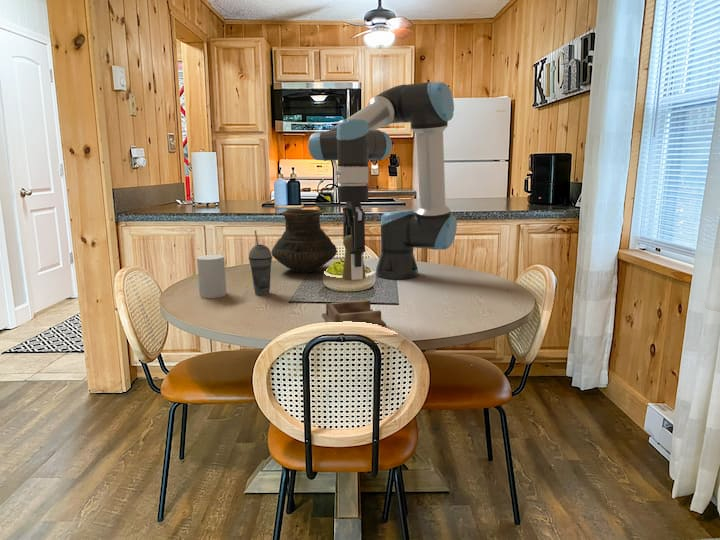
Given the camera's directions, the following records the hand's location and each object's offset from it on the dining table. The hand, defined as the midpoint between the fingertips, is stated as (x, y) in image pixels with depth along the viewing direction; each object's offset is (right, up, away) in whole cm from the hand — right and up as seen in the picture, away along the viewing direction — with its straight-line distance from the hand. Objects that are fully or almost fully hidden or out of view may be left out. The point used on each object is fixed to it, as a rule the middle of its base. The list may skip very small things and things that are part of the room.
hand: (354, 276), depth 131 cm
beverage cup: (-29, -6, +31) cm, 43 cm away
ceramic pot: (-19, +1, +63) cm, 66 cm away
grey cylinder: (-45, -6, +30) cm, 54 cm away
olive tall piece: (0, -1, 0) cm, 1 cm away
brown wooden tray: (0, -12, +2) cm, 12 cm away
